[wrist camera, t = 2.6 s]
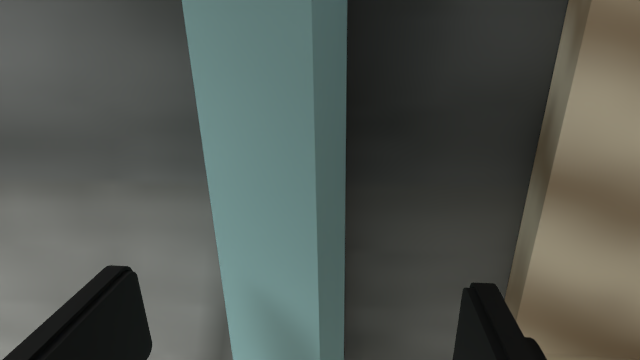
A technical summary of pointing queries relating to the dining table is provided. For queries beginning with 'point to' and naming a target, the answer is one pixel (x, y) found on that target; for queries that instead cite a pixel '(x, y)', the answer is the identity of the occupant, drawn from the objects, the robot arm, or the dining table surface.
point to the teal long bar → (275, 168)
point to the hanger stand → (585, 195)
